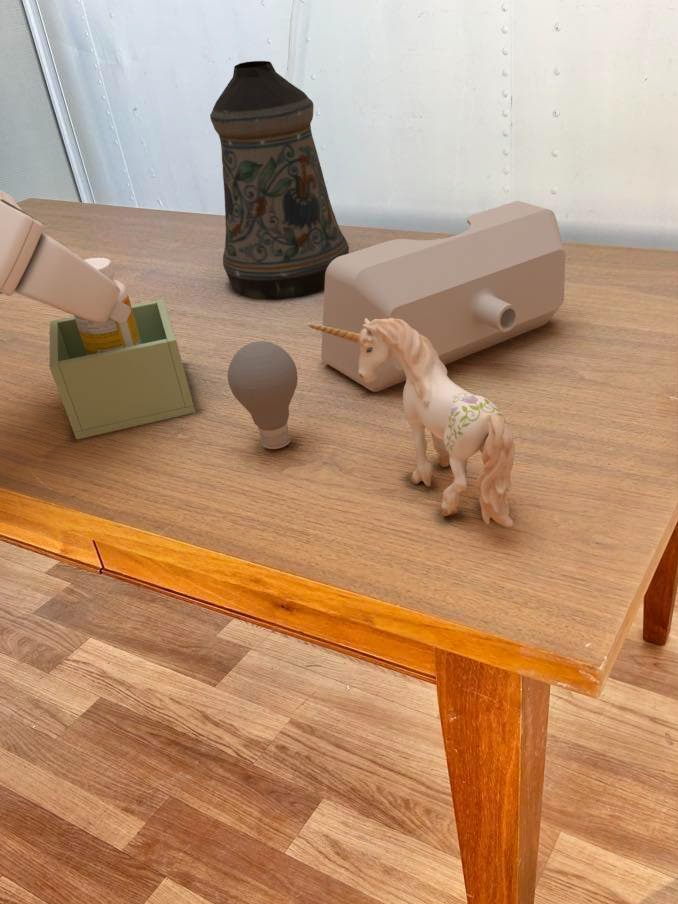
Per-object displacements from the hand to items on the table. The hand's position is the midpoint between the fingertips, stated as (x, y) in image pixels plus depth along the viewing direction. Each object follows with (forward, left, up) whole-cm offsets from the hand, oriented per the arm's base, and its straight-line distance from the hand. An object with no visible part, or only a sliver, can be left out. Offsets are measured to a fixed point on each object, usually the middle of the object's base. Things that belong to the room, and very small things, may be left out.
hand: (108, 307), depth 82 cm
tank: (+34, -6, -10) cm, 36 cm away
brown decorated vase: (+22, +28, -10) cm, 37 cm away
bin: (0, 0, -10) cm, 10 cm away
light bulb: (+12, -16, -10) cm, 23 cm away
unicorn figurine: (+20, -30, -10) cm, 38 cm away
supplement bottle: (-1, 0, -6) cm, 6 cm away
